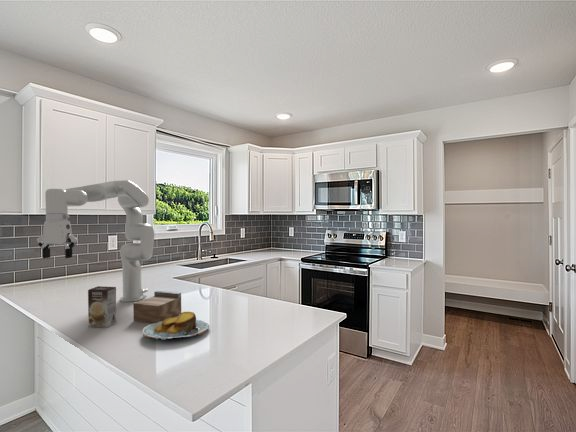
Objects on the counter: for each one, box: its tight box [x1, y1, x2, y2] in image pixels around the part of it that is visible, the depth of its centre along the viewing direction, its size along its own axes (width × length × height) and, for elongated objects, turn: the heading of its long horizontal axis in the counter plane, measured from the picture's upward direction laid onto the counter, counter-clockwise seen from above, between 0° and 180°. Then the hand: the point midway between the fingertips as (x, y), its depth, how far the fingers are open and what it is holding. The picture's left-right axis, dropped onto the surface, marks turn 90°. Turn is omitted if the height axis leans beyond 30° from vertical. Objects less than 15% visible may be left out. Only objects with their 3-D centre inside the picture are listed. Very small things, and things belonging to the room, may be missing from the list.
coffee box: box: [87, 285, 117, 328], centre depth 135 cm, size 9×6×16 cm
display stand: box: [132, 290, 182, 324], centre depth 144 cm, size 15×14×10 cm
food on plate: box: [141, 311, 210, 341], centre depth 125 cm, size 25×25×7 cm
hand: (57, 257), depth 133 cm, fingers open, 9 cm apart
